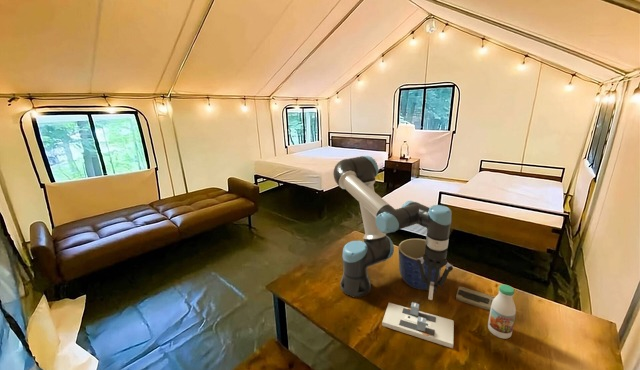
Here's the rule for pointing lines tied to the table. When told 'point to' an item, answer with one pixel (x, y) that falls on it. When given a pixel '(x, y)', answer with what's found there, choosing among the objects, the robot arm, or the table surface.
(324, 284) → the table surface
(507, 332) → the milk bottle
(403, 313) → the switch board
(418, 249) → the planter
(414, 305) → the tab far
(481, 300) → the computer
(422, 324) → the tab near
